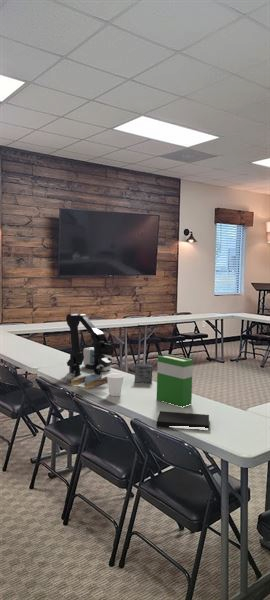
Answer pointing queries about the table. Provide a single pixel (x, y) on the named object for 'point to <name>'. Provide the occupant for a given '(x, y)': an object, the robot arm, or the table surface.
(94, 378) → the crate
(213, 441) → the table surface
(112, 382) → the cup
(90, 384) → the rack bay
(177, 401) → the green cereal box
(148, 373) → the small box
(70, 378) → the winch drum
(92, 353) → the stereo radio cassette player
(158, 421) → the black book
